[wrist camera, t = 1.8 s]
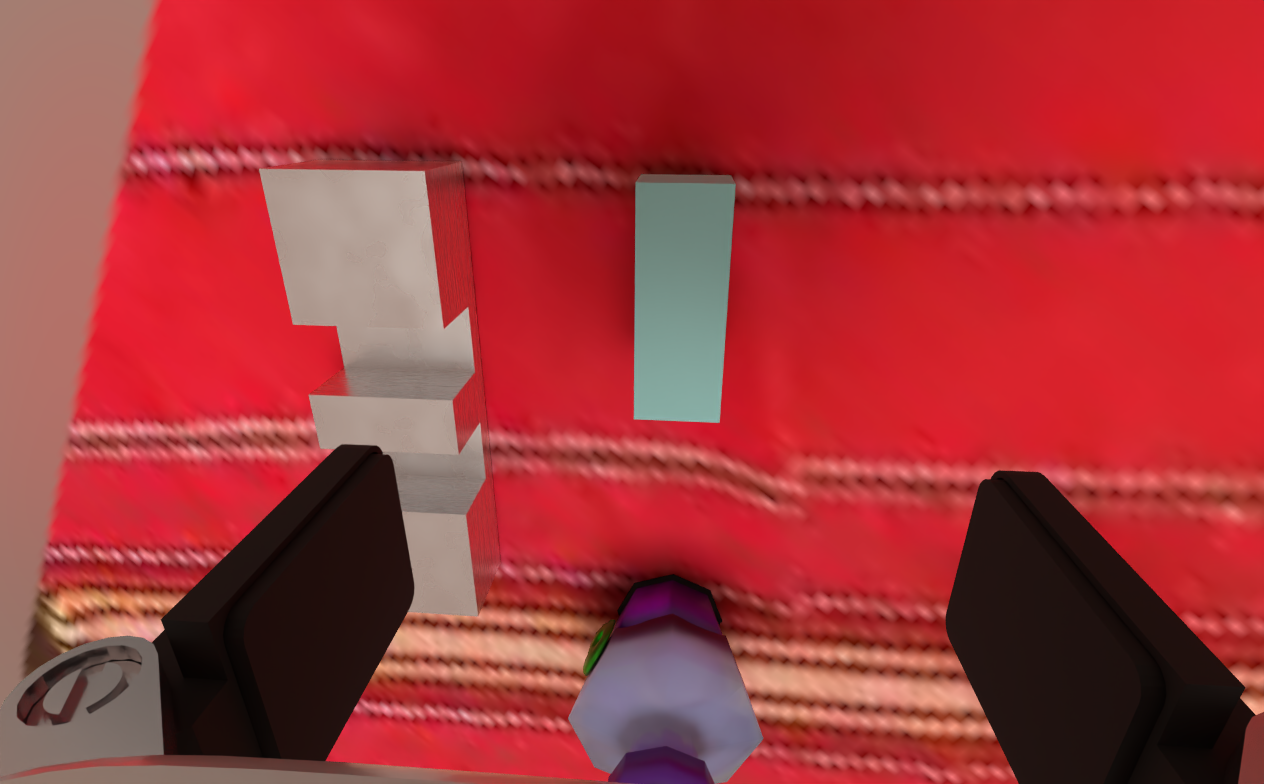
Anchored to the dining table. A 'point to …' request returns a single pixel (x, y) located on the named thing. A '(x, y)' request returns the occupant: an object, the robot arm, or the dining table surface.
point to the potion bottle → (665, 691)
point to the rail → (399, 349)
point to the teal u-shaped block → (681, 294)
